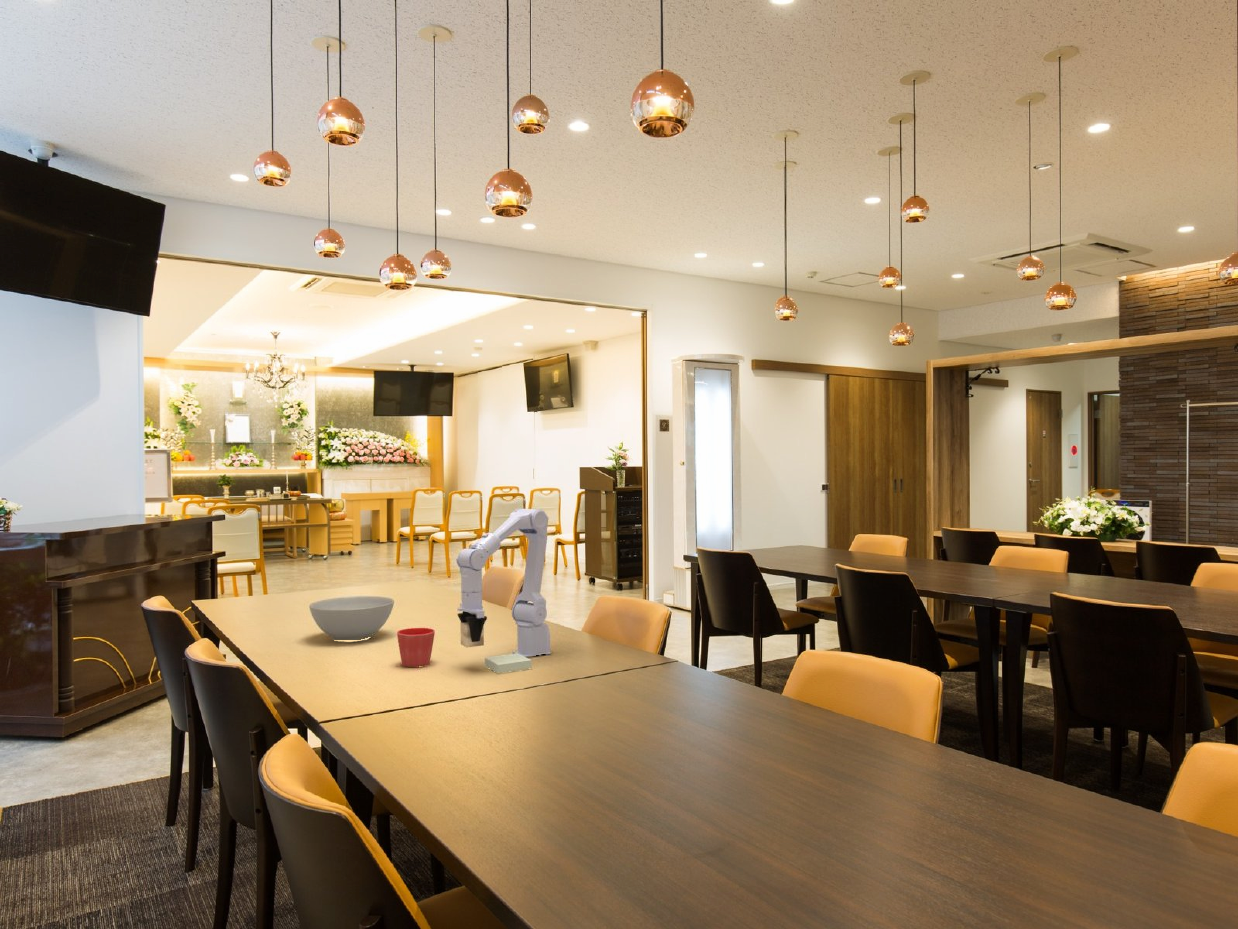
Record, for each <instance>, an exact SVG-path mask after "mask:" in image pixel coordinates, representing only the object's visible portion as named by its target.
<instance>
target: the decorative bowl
mask: <svg viewBox="0 0 1238 929" xmlns="http://www.w3.org/2000/svg"><path fill="white" fill-rule="evenodd" d="M394 604H395V600H394V599H393V598H390V597H386V596H374V595H371V596H368V595H365V596H364V595H363V596H361V595H360V596H359V595H357V596H343V597H342V596H341V597H334V598H327V599H322V600H318V601H317V600H316V601H314V602H312V603H310V604H309V612H310V613H311V617H312V618H313V620H314V622H315V624H316V625H317V627H318V628H319V629H320V630H321V631H322V632H324V634H326V635H327V636H330V637H331V638H332V640H333V639H334V640H361V639H365V638H368V637H372V638H373V635H375V633H377V632H378V631H380V630H381V629H382V627H383V626H384V625H385V624H386V622H387V621H388V620H389V618H390V615H391V613H392V611H393V609H394V608H393V607H394Z"/></svg>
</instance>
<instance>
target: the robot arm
mask: <svg viewBox="0 0 1238 929" xmlns="http://www.w3.org/2000/svg"><path fill="white" fill-rule="evenodd" d="M548 526H549V517H548V515H547V513H546V512H545V510H543V509H542V508H537V509H535V508H521V507H519V508H516V509H514V511H512V512H511V513H510V514H509V516H508V518H507V519H506V520H505V521H504V522H503V523H502V524H501V525H499V527H498V528H497V529H495V531H494V532H487V533H486V532H485V533H482V535H481V538H479V539H478V540H476V541H475V542H474V543H471V545H470V546H469V548H463V549H462V550H460V552H459V553H458V555H457V558H456V559H455V560H456V564H457V565H456V566H458V567H459V573H460V577H461V578H460V584H461V585H460V587H461V603H459V607H457V611H458V612H460V613H457V617H458V619H459V621H460V624H461V623H465V622H468V625H469V628H470V635H471V640H472V642H478V641H480V637H481V633H482V629H483V626H484V625H485V623H486V621H487V620H488V616H486V615H485V610H484V606H483V575H482V574H483V570H482V569H483V568H485V566H486V564H487V561H488V559H489V558H490V557H491V556H492V555H493V554H495V553H496V552H497V551H498V550H499V549H500V548H501V542H503V541H504V540H505V539H507V538H508V537H510V536H511V535H512V534H514V533H516V532H517V531H519V532H521V534H523V535H524V536H525V537H526V539H527V540H528V544H527V545H528V547H527V552H526V554H527V555H526V559H525V560H526V561H525V568H524V574H523V575H524V577H523V583H522V591H521V592H520V593H519V594H517V596H516V597H515V601H514V604H513V606H512V609H511V617H512V619H513V621H515V625H517V627H516V629H517V632H516V633H517V634H516V636H517V639H516V640H517V650H513V651H512V654H514V653H518V654H520V655H522V656H524V657H526V658H529V657H537V656H536V655H539V656H541V655H540V654H546V655H551V654H552V651H551V632H550V627H549V625H548V624H547V623H545V621H546V619H547V612H548V611H547V605H546V604H547V600H546V599H545V597H543V595H542V594H541V589H542V581H543V576H544V575H543V573H544V567H545V566H544V565H545V559H546V553H547V552H546V550H547V543H548V541H547V540H548ZM484 627H485V626H484Z"/></svg>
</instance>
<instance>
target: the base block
mask: <svg viewBox="0 0 1238 929" xmlns="http://www.w3.org/2000/svg"><path fill="white" fill-rule="evenodd" d="M485 666H486V667H488V668H490V669H491V670H490V669H489V670H490V671H492V670H493V671H495V672H497V673H503V672H509V671H516V672H520V671H519V670H523V671H525V670H524V669H529V668H531V669H532V659H530V658H529V657H524V656H522V655H520V654H518V653H508V654H500V655H494V656H487V657H484V667H485ZM486 667H485V668H486ZM488 668H487V669H488ZM493 671H492V672H493ZM495 672H494V673H495ZM497 673H496V674H497ZM503 674H504V673H503Z"/></svg>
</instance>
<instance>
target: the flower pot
mask: <svg viewBox="0 0 1238 929" xmlns="http://www.w3.org/2000/svg"><path fill="white" fill-rule="evenodd" d="M435 633H436V632H435V629H434V628H430V627H429V628H428V627H409V628H404V629H400V630H398V631H396V635H397V643H398V649H399V650H398V651H399V654H400V660H401V666H403V667H405V666H407V667H406V668H420V667H419V666H423V667H426V666H425V665H427V664H429V665H430V662H431V658H432V652H433V648H434V647H433V646H434V640H435ZM427 666H428V665H427Z"/></svg>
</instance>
